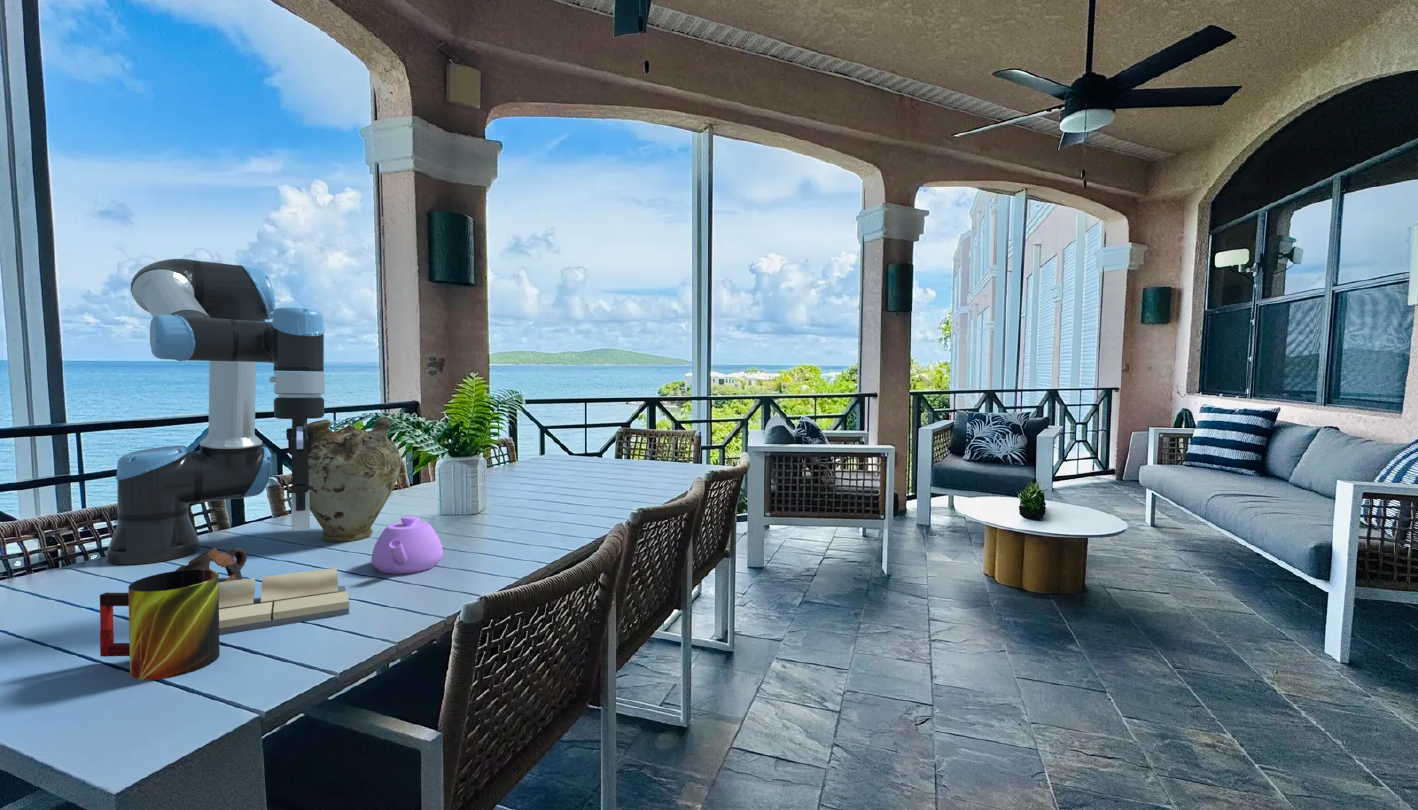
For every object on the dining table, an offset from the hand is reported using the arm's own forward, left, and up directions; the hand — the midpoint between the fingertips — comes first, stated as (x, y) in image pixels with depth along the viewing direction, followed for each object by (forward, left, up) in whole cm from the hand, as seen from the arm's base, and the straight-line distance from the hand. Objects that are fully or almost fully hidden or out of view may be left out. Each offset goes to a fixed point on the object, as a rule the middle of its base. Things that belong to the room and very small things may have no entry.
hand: (300, 527), depth 112 cm
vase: (-45, +10, -14) cm, 48 cm away
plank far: (+1, 0, -11) cm, 11 cm away
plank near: (+1, -12, -11) cm, 17 cm away
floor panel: (+4, -6, -13) cm, 15 cm away
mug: (+19, -17, -14) cm, 29 cm away
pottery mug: (-17, -14, -14) cm, 26 cm away
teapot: (-13, +19, -14) cm, 27 cm away
